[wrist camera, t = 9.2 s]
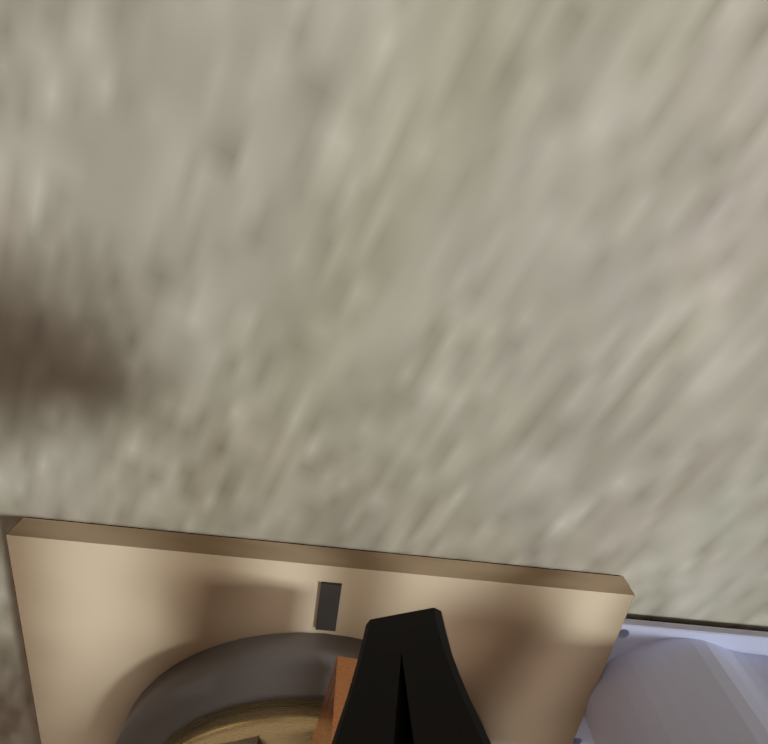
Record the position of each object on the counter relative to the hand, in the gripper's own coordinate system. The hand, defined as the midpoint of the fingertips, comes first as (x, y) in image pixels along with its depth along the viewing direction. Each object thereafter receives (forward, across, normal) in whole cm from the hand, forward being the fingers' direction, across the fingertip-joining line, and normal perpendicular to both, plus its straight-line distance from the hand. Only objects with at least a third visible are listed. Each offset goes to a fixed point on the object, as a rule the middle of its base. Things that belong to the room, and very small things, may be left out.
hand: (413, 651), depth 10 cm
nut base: (+9, +8, +16) cm, 20 cm away
